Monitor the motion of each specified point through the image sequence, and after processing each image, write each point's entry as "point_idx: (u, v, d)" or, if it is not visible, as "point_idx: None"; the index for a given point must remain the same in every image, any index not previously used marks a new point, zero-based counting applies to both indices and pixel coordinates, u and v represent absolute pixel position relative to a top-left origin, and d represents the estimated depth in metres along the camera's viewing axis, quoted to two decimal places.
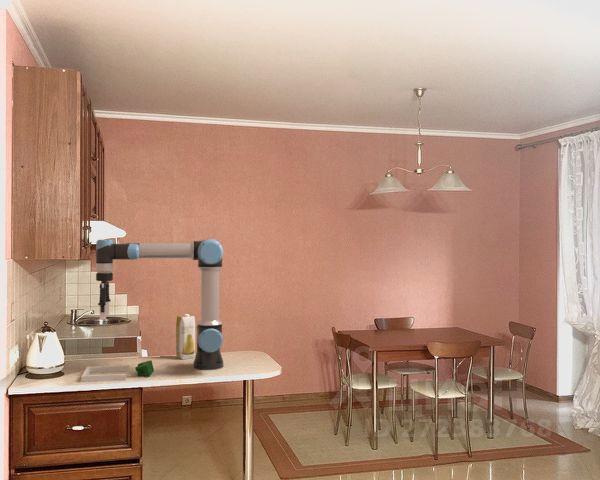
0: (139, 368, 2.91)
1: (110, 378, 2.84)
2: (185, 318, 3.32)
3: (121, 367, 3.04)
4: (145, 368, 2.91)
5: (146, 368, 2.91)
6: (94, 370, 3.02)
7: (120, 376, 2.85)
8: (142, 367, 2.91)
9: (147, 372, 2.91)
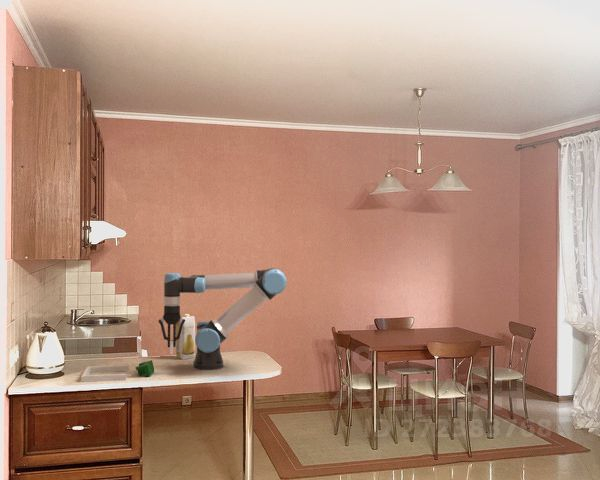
0: (140, 368, 2.91)
1: (110, 378, 2.84)
2: (185, 318, 3.32)
3: (121, 367, 3.04)
4: (146, 368, 2.91)
5: (147, 368, 2.91)
6: (94, 370, 3.02)
7: (120, 376, 2.85)
8: (143, 367, 2.91)
9: (148, 372, 2.91)
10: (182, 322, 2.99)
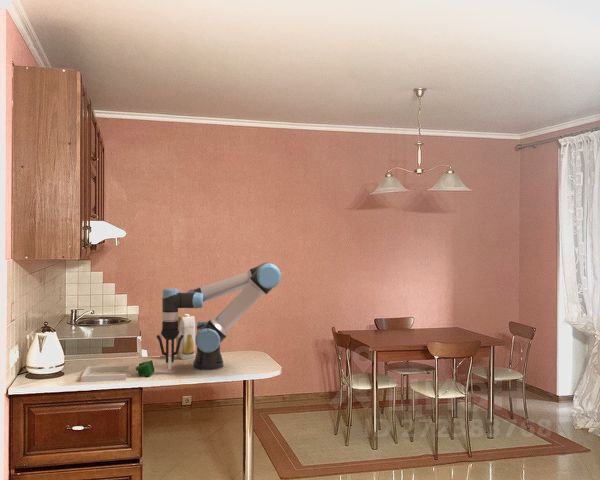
0: (140, 368, 2.91)
1: (110, 378, 2.84)
2: (185, 318, 3.32)
3: (121, 367, 3.04)
4: (146, 368, 2.91)
5: (147, 368, 2.91)
6: (94, 370, 3.02)
7: (120, 376, 2.85)
8: (143, 367, 2.91)
9: (148, 372, 2.91)
10: (180, 337, 2.99)
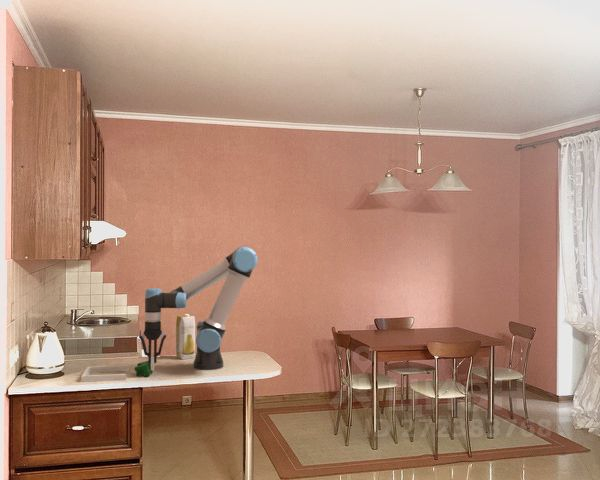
0: (138, 368, 2.91)
1: (110, 378, 2.84)
2: (185, 318, 3.32)
3: (121, 367, 3.04)
4: (144, 368, 2.91)
5: (145, 368, 2.91)
6: (94, 370, 3.02)
7: (120, 376, 2.85)
8: (141, 367, 2.91)
9: (146, 372, 2.91)
10: (163, 338, 2.97)
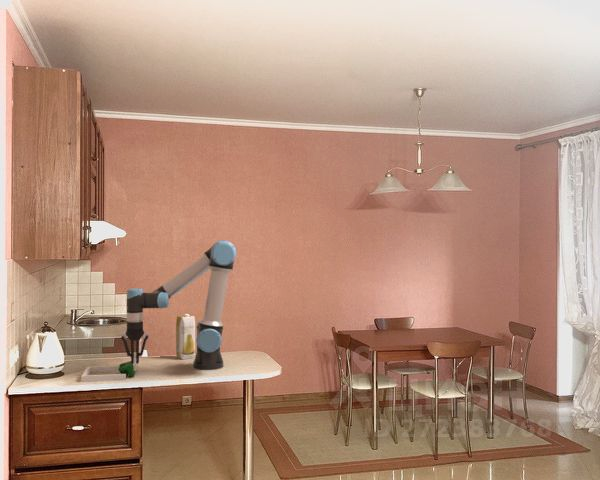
0: (123, 369, 2.89)
1: (110, 378, 2.84)
2: (185, 318, 3.32)
3: None
4: (129, 368, 2.89)
5: (130, 368, 2.90)
6: (94, 370, 3.02)
7: (120, 376, 2.85)
8: (126, 368, 2.89)
9: (131, 372, 2.90)
10: (145, 338, 2.95)
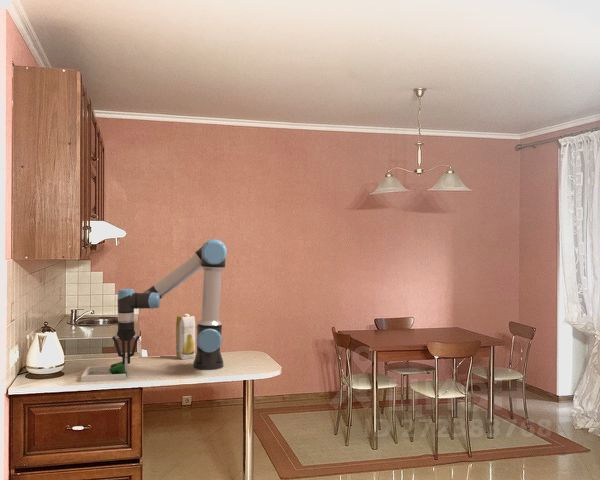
0: (114, 369, 2.88)
1: (110, 378, 2.84)
2: (185, 318, 3.32)
3: None
4: (120, 369, 2.88)
5: (121, 369, 2.89)
6: (94, 370, 3.02)
7: (120, 376, 2.85)
8: (117, 368, 2.88)
9: (122, 373, 2.89)
10: (136, 338, 2.94)
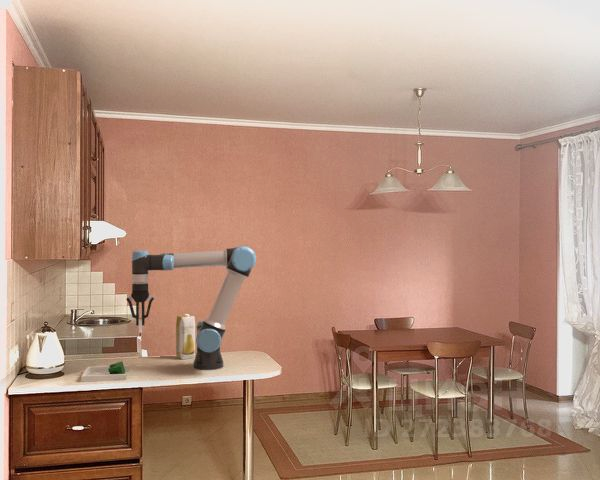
0: (113, 369, 2.88)
1: (110, 378, 2.84)
2: (185, 318, 3.32)
3: None
4: (119, 369, 2.88)
5: (120, 369, 2.88)
6: (94, 370, 3.02)
7: (120, 376, 2.85)
8: (116, 368, 2.88)
9: (121, 373, 2.89)
10: (151, 300, 2.96)
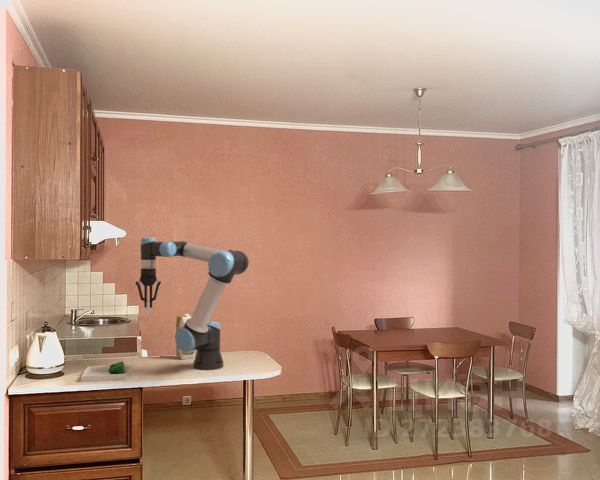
0: (113, 369, 2.88)
1: (110, 378, 2.84)
2: (185, 318, 3.32)
3: None
4: (119, 369, 2.88)
5: (120, 369, 2.88)
6: (94, 370, 3.02)
7: (120, 376, 2.85)
8: (116, 368, 2.88)
9: (121, 373, 2.89)
10: (158, 284, 3.16)
